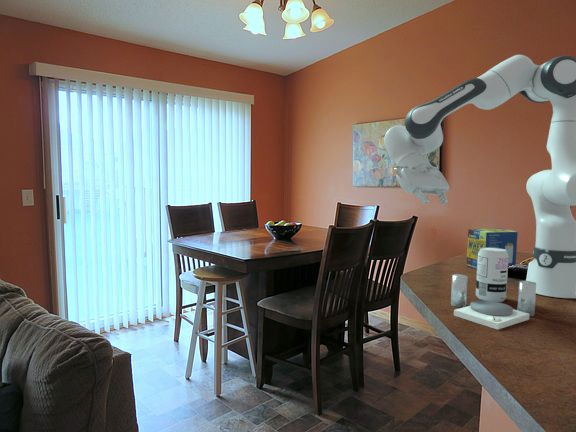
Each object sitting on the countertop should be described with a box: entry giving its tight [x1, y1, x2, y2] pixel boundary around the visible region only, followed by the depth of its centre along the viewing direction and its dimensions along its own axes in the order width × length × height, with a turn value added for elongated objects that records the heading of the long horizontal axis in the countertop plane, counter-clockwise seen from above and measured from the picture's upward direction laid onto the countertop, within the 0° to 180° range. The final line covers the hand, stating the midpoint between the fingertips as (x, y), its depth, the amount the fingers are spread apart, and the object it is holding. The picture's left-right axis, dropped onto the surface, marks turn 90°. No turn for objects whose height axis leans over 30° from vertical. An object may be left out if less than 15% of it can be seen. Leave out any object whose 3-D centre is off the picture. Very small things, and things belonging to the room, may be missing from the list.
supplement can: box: [475, 248, 509, 303], centre depth 124 cm, size 8×8×15 cm
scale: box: [453, 300, 530, 331], centre depth 108 cm, size 14×12×2 cm
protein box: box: [466, 227, 519, 270], centre depth 168 cm, size 10×15×16 cm
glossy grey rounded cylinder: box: [450, 273, 468, 308], centre depth 118 cm, size 4×4×8 cm
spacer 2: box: [516, 280, 537, 317], centre depth 111 cm, size 4×4×8 cm
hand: (436, 202), depth 127 cm, fingers open, 8 cm apart
